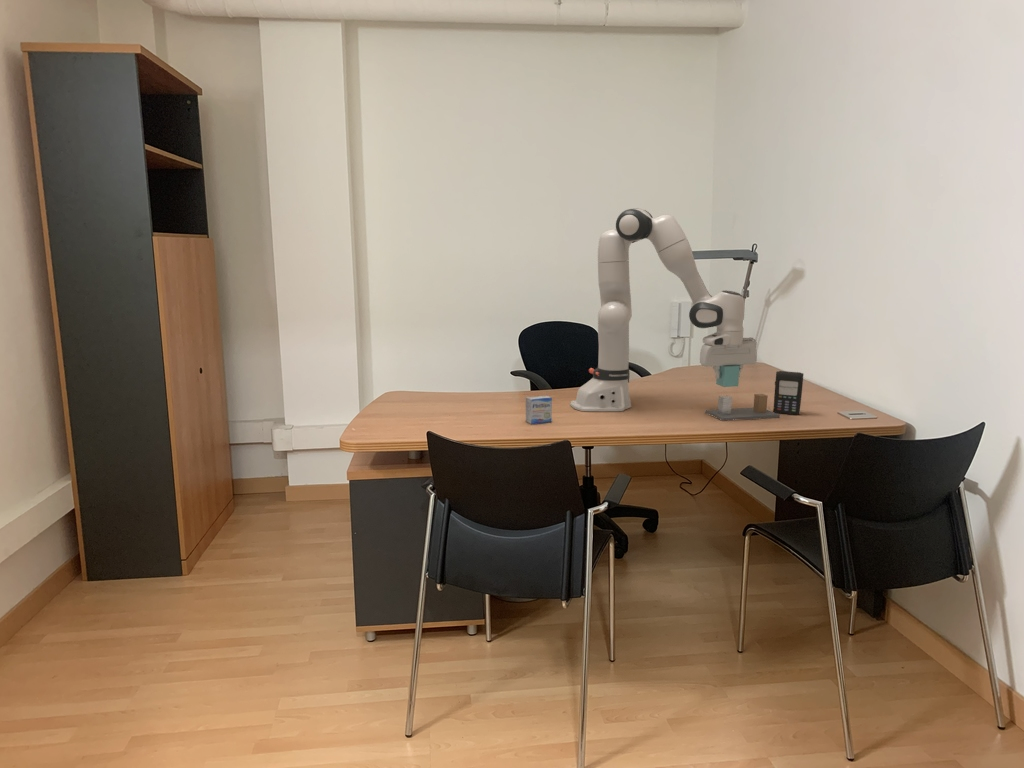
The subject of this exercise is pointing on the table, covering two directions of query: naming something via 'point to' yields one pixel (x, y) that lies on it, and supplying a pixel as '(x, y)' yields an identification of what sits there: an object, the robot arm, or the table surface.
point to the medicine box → (538, 409)
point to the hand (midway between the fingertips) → (727, 377)
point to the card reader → (788, 392)
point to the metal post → (724, 405)
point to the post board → (748, 410)
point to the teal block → (728, 376)
